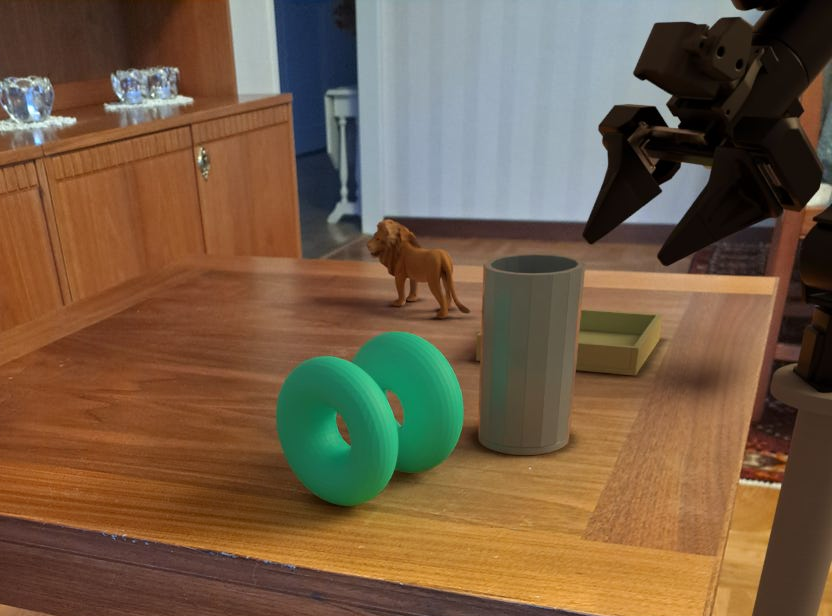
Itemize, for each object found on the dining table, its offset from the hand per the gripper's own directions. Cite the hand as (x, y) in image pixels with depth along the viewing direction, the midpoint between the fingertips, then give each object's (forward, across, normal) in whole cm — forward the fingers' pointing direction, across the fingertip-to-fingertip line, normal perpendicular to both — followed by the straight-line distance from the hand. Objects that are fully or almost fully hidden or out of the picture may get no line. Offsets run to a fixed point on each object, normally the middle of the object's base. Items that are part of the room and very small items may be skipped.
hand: (621, 250), depth 69 cm
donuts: (+25, +3, -6) cm, 25 cm away
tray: (+3, -18, +15) cm, 24 cm away
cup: (+14, 0, +4) cm, 15 cm away
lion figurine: (+8, -41, +11) cm, 43 cm away
